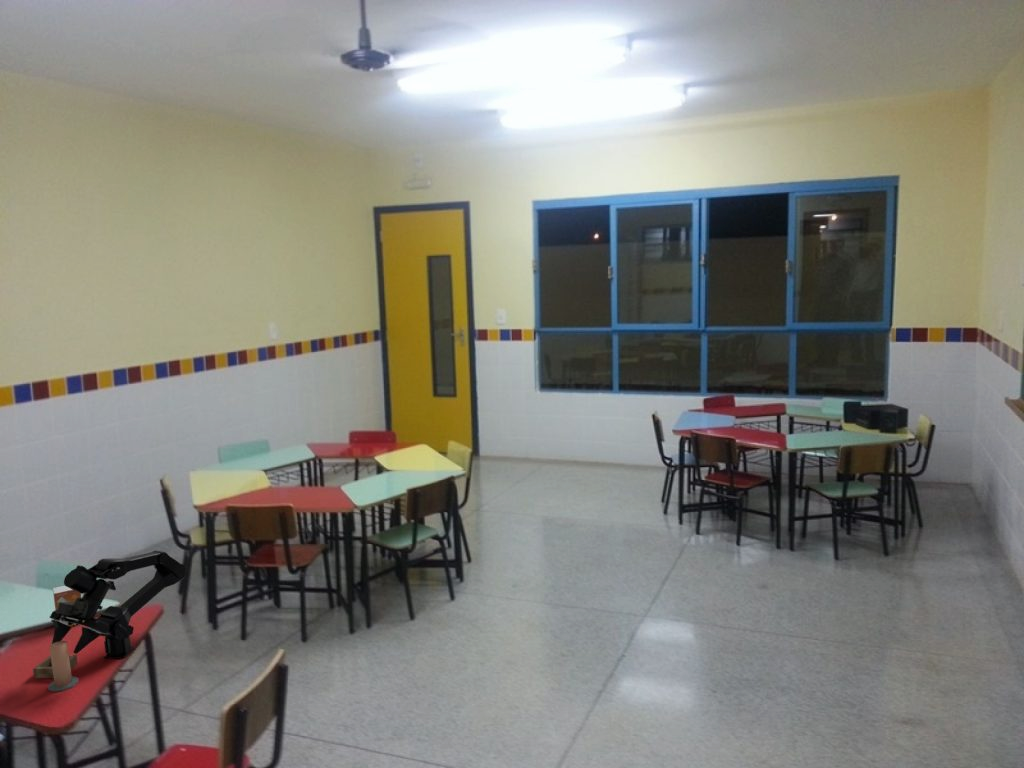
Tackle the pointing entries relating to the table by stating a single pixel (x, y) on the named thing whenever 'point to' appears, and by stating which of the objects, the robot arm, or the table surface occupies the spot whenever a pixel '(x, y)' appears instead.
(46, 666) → the walnut socket
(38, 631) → the table surface
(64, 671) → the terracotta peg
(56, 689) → the charcoal coaster
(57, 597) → the small box
